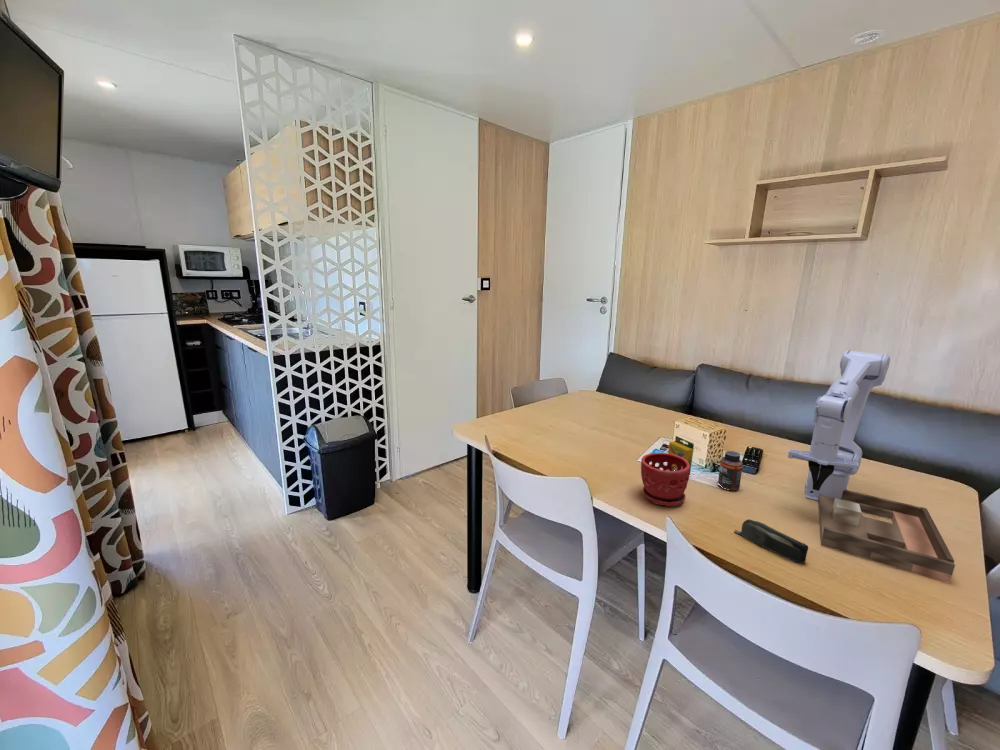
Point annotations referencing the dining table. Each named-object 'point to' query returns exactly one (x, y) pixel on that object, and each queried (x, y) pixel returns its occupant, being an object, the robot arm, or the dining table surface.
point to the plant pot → (664, 478)
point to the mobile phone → (774, 540)
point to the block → (846, 512)
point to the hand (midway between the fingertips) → (815, 488)
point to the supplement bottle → (730, 471)
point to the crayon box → (681, 451)
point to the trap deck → (888, 535)
